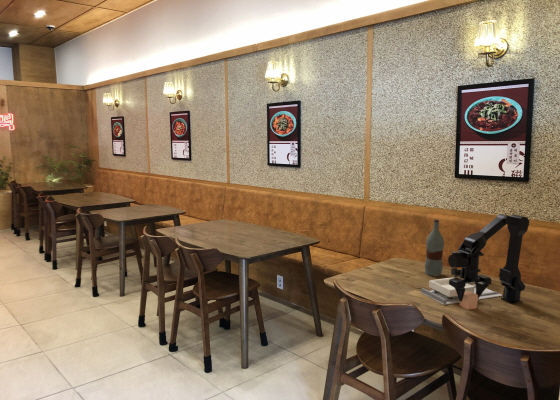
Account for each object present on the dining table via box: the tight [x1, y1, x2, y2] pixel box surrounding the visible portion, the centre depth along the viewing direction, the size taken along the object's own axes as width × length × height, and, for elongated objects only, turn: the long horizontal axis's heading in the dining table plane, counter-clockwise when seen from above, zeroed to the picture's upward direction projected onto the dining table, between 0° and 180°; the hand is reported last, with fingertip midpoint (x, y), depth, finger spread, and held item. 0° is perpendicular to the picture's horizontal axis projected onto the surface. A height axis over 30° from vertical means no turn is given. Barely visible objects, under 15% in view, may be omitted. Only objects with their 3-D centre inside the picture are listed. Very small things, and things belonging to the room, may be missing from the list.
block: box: [459, 291, 479, 310], centre depth 194 cm, size 5×5×6 cm
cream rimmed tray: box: [428, 277, 474, 299], centre depth 206 cm, size 14×14×5 cm
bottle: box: [424, 218, 445, 277], centre depth 237 cm, size 9×9×30 cm
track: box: [420, 284, 503, 306], centre depth 209 cm, size 16×34×2 cm, turn 110°
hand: (468, 300), depth 194 cm, fingers open, 9 cm apart
